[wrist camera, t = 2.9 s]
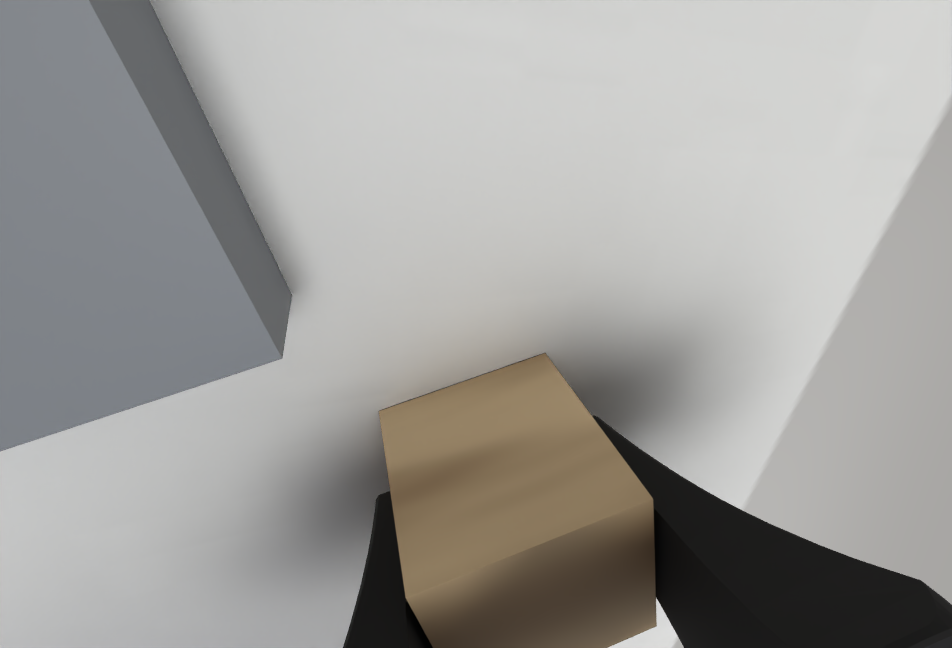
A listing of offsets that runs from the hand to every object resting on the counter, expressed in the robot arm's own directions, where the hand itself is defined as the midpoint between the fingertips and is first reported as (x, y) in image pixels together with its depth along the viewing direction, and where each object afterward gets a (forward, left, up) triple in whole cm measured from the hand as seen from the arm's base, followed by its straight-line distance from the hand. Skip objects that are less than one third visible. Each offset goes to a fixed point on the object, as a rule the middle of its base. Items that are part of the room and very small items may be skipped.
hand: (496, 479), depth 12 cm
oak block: (0, 0, -1) cm, 1 cm away
